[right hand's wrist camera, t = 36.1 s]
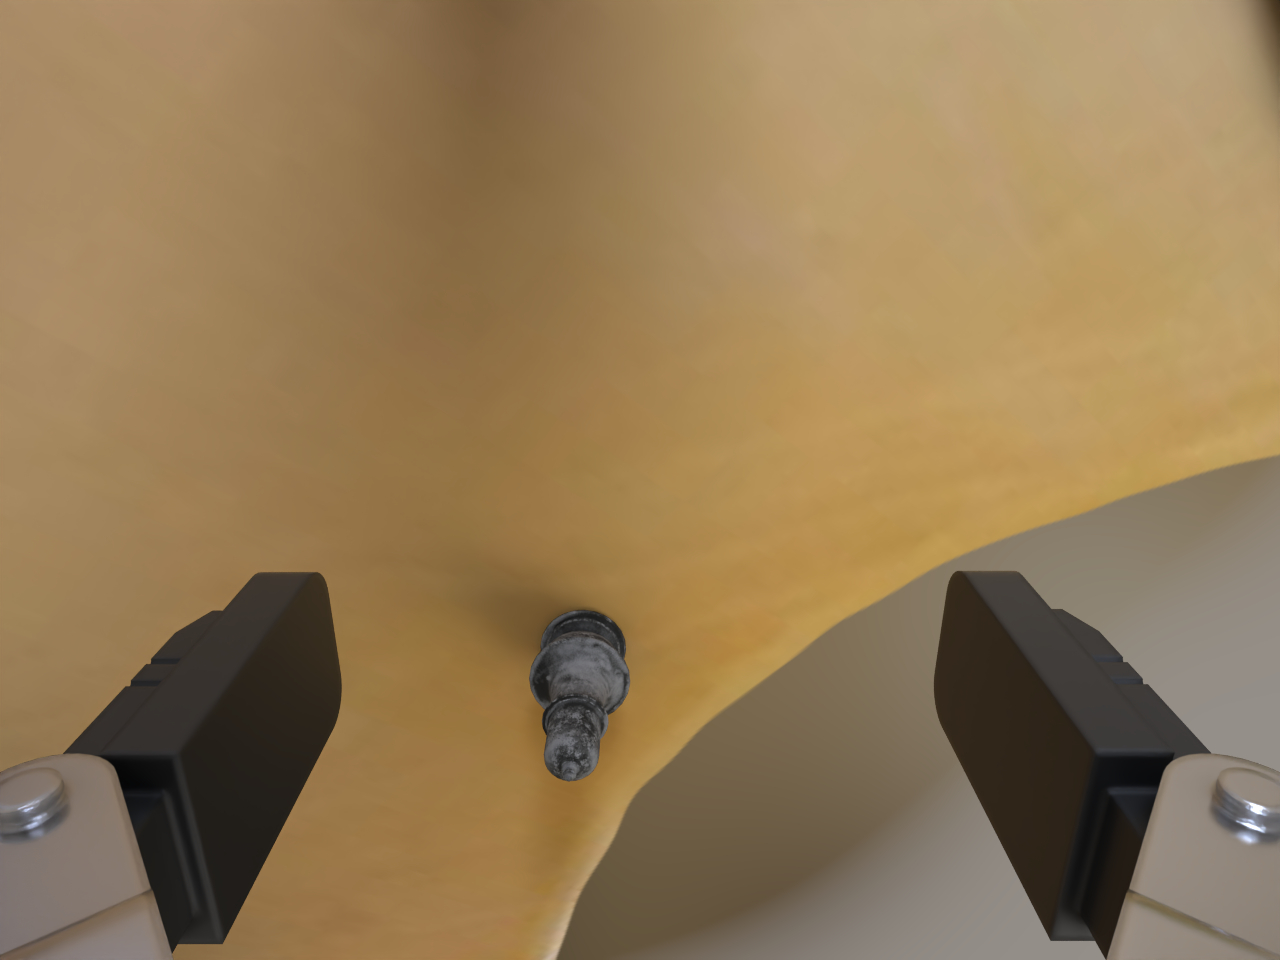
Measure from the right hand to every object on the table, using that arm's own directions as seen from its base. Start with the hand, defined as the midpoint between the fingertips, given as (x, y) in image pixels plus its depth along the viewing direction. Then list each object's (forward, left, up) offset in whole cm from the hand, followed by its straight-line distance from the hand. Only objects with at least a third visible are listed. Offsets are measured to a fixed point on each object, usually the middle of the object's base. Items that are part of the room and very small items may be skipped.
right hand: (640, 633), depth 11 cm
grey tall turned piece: (+24, +3, -37) cm, 44 cm away
